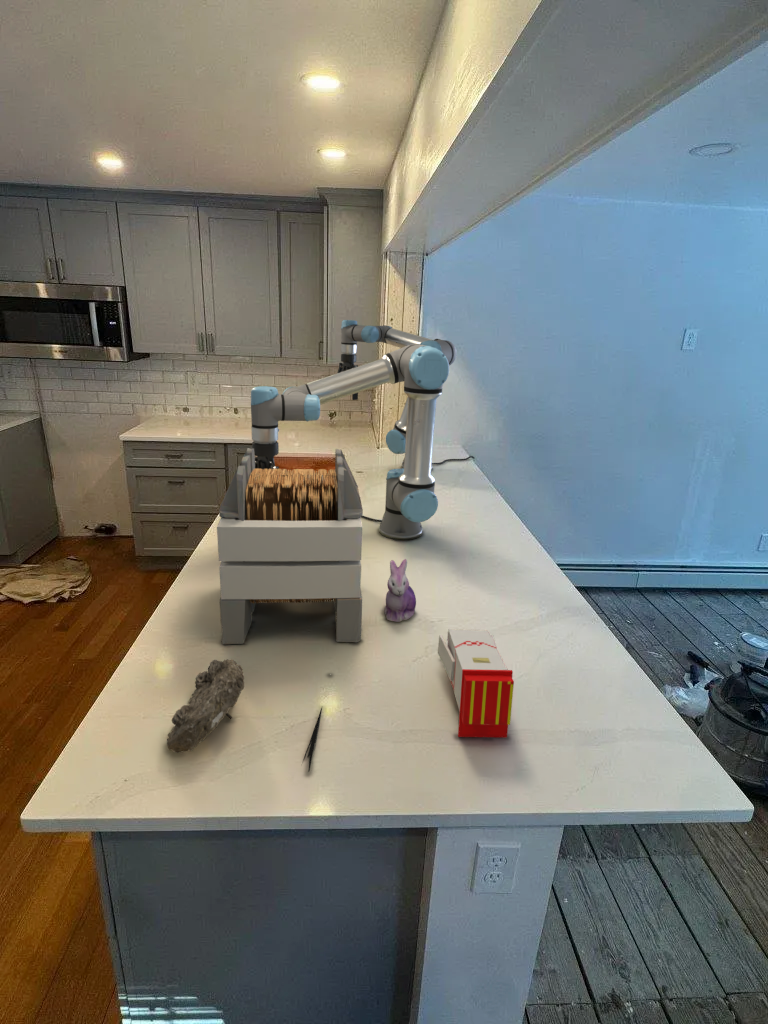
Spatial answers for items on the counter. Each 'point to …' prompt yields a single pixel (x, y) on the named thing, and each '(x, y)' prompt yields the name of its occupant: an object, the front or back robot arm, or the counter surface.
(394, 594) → the figurine
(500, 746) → the counter surface
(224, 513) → the transformer
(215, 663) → the fossil
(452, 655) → the toy
